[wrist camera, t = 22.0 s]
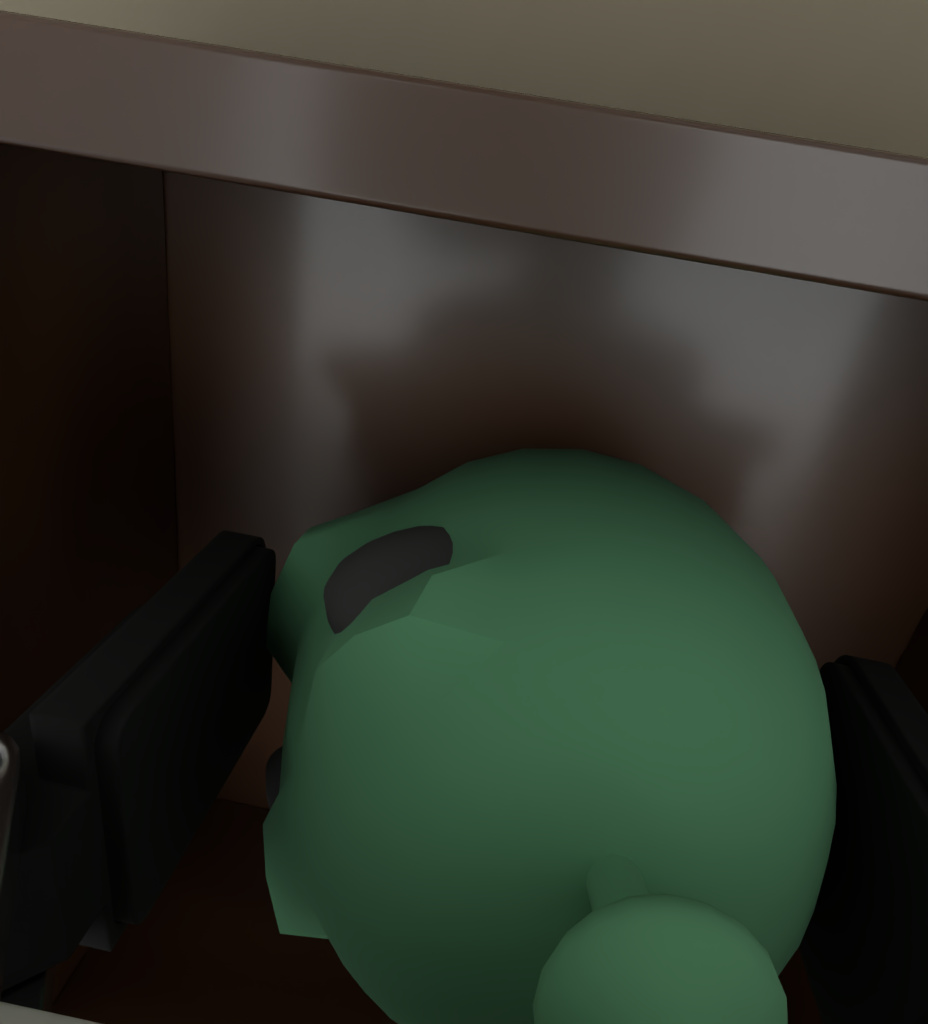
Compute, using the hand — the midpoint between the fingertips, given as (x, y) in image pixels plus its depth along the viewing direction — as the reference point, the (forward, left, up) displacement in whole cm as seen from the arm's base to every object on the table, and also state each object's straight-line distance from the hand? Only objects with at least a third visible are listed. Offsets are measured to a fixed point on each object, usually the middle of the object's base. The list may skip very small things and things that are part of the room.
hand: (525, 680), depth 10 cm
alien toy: (0, 0, -4) cm, 4 cm away
